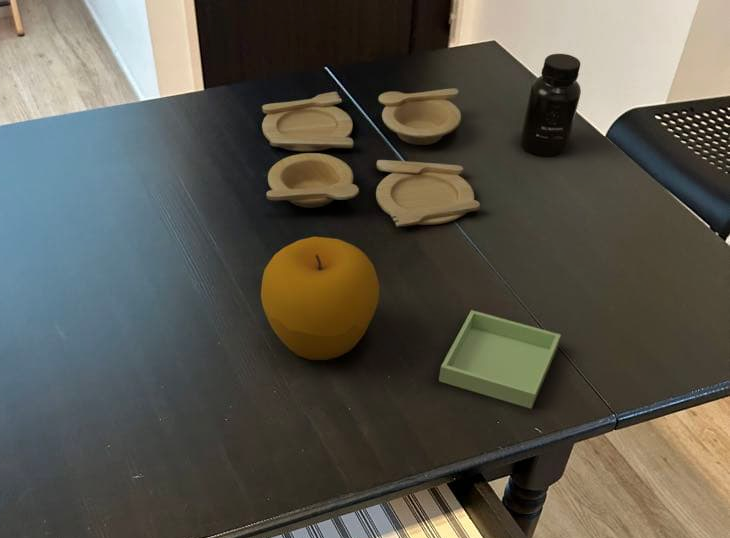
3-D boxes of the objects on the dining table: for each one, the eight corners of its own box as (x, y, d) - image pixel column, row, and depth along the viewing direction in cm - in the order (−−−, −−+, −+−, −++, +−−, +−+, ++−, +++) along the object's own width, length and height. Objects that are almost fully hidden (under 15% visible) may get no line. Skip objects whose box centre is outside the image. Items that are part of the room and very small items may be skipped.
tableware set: (263, 106, 127) (261, 78, 124) (451, 103, 128) (454, 76, 125) (259, 239, 107) (257, 210, 103) (484, 235, 107) (489, 206, 104)
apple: (248, 322, 97) (240, 236, 88) (348, 294, 100) (350, 208, 91) (290, 392, 90) (287, 306, 81) (396, 359, 93) (404, 273, 84)
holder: (555, 351, 94) (561, 334, 92) (530, 411, 88) (535, 394, 86) (468, 327, 96) (471, 309, 94) (438, 383, 91) (440, 366, 89)
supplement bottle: (540, 165, 117) (560, 77, 108) (509, 144, 121) (525, 57, 111) (576, 151, 120) (598, 64, 110) (544, 131, 123) (563, 45, 113)
